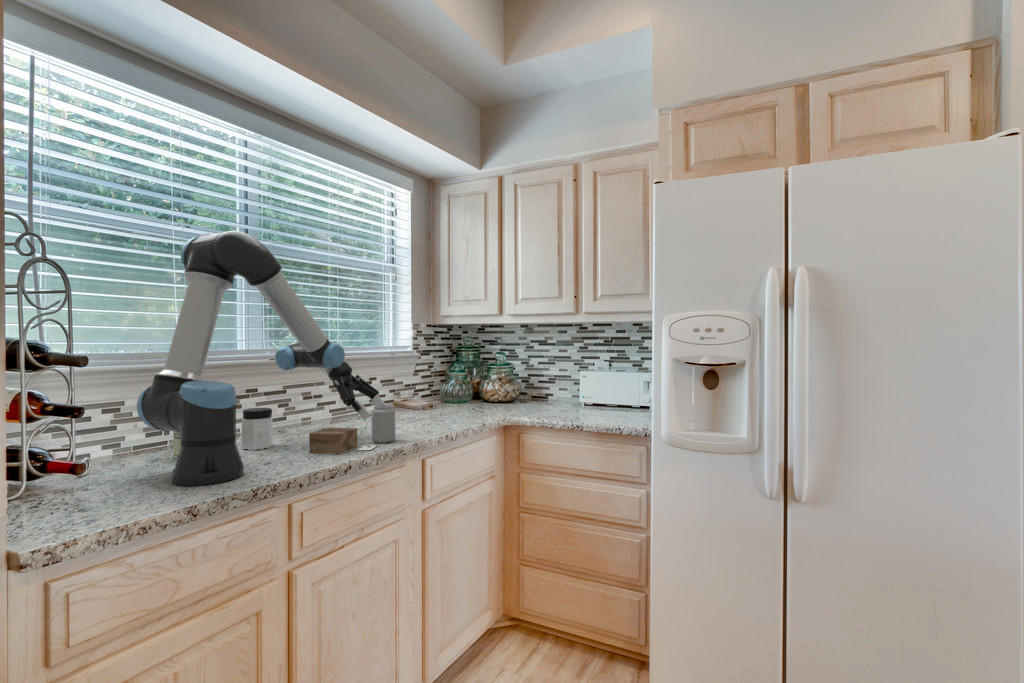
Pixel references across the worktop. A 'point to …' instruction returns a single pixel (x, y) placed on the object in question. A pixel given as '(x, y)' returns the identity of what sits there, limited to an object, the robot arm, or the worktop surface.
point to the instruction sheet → (370, 446)
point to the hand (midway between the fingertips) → (377, 414)
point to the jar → (257, 428)
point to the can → (383, 424)
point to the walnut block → (332, 440)
